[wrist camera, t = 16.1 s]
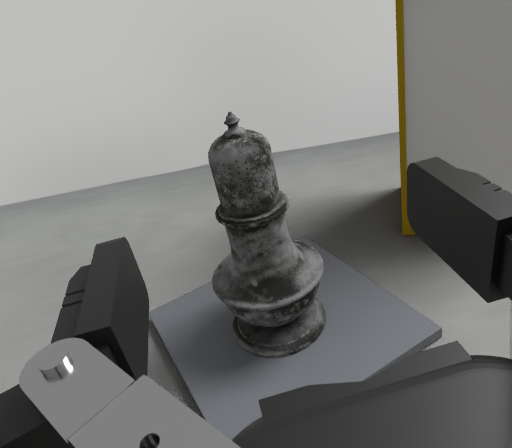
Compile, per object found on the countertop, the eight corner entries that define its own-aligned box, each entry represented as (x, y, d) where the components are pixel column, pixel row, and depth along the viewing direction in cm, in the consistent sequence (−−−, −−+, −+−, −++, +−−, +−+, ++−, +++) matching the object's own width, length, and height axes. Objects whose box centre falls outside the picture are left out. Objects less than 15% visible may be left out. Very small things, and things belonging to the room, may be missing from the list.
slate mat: (234, 476, 18) (231, 467, 18) (151, 319, 27) (148, 312, 27) (441, 336, 22) (441, 327, 22) (305, 242, 32) (304, 235, 31)
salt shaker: (274, 275, 28) (232, 89, 22) (352, 308, 24) (327, 91, 18) (206, 332, 25) (135, 131, 19) (284, 380, 21) (225, 145, 15)
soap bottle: (489, 153, 38) (518, -210, 26) (521, 233, 28) (593, -301, 16) (401, 159, 40) (393, -171, 28) (402, 235, 30) (388, -230, 18)
